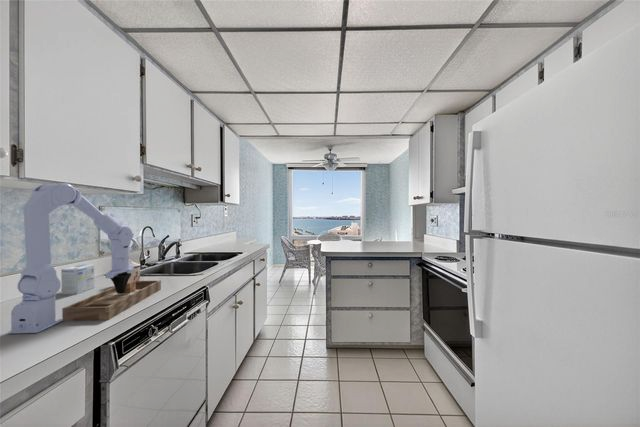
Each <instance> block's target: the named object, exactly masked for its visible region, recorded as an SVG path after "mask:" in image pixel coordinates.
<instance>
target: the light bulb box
mask: <svg viewBox="0 0 640 427" xmlns="http://www.w3.org/2000/svg"><path fill="white" fill-rule="evenodd" d="M60 274H61V280H60V283H61V295H78V294H81V293H83V292H86V291H88V290H91V289H94V288H95V264H92V263H91V264H78V265H74V266H70V267H66V268H62V269H61V273H60Z"/></svg>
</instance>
